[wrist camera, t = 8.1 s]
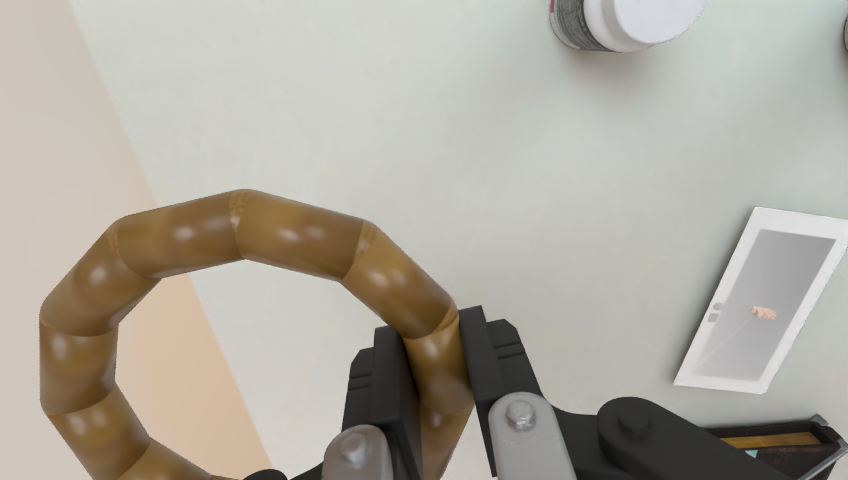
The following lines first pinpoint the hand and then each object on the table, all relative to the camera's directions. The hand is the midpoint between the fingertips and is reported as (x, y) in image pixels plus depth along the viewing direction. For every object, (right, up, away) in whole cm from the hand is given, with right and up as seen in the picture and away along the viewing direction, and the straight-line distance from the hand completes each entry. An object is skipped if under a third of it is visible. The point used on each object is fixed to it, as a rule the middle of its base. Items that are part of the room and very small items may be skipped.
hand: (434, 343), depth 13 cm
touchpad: (+24, -2, +22) cm, 33 cm away
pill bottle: (+9, +16, +14) cm, 23 cm away
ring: (-5, -1, 0) cm, 5 cm away
